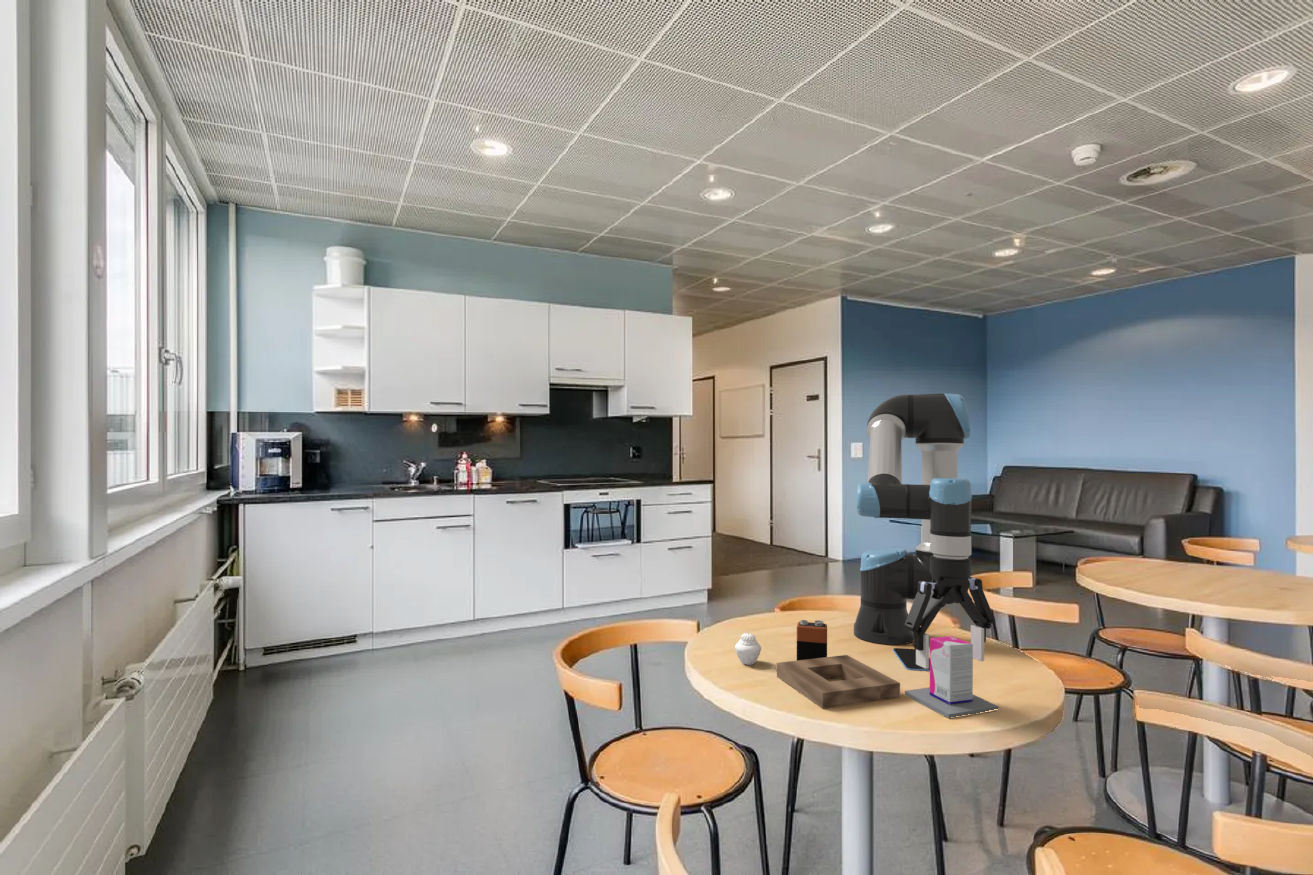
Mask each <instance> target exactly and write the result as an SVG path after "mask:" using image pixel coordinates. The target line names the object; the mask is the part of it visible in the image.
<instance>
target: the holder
mask: <svg viewBox="0 0 1313 875" xmlns="http://www.w3.org/2000/svg"><path fill="white" fill-rule="evenodd" d="M776 678H778V679H779V680H781V681H782V682H784V683H785V684H787V685H788V686H789V687H791V688H792V689H793V690H795V691H797V692H798V693H799V694H801V695H803V696H804V697H805V698H807V699H808V700H810V701H811V703H813V704H815V705H817V706H818V707H820V708H821V709H823V710H824V709H831V708H837V707H844V706H852V705H859V704H864V703H866V704H867V703H872V702H873V703H874V702H880V701H886V700H891V699H899V698H901V696H900V695H901V683H900V682H899V681H898V680H895V679H893V678H891V677H889V676H888V675H885V674H884V673H882V672H880V671H878V670H876V669H875V668H872V667H871V666H869V665H867V664H865V663H863V662H861V661H859V660H857V659H856V658H853V657H851V656H850V655H848V654H843V655H834V656H827V657H824V658H815V659H807V660H798V661H797V660H791V661H790V660H789V661H781V662H776ZM838 678H839V679H840V678H841V679H843V680H834V681H830V680H831V679H838Z"/></svg>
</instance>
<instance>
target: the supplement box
mask: <svg viewBox="0 0 1313 875" xmlns="http://www.w3.org/2000/svg"><path fill="white" fill-rule="evenodd" d="M929 658H930V671H929V687H930V695H931V696H933V697H935V698H937V699H939V700H941V701H943V702H945V703H947V704H949V705H955V704H961V703H968V702H972V701H973V695H974V693H973V690H974V689H973V688H974V687H973V685H974V682H973V680H974V679H973V676H974V674H973V673H974V672H973V670H974V669H973V665H974V663H973V662H974V658H973V644H972V643H971V642H969V641H966V640H963V639H960V638H958V637H955V636H952V635H951V636H950V635H949V636H940V637H938V636H937V637H929Z"/></svg>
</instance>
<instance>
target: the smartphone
mask: <svg viewBox="0 0 1313 875" xmlns="http://www.w3.org/2000/svg"><path fill="white" fill-rule="evenodd" d="M892 651H893V653H894V655H895V656H896V657H897V659H898V660H899V662H900V663H901V664H902V666H903V667H904V669H905V670H907V671H915V672H916V671H920V672H922V671H925V672H930V657H929V668H927V669H925V668H923V667H921V666H919V665H917V664H916V649H914V648H906V647H905V648H903V647H901V648H900V647H894V648H892Z"/></svg>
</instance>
